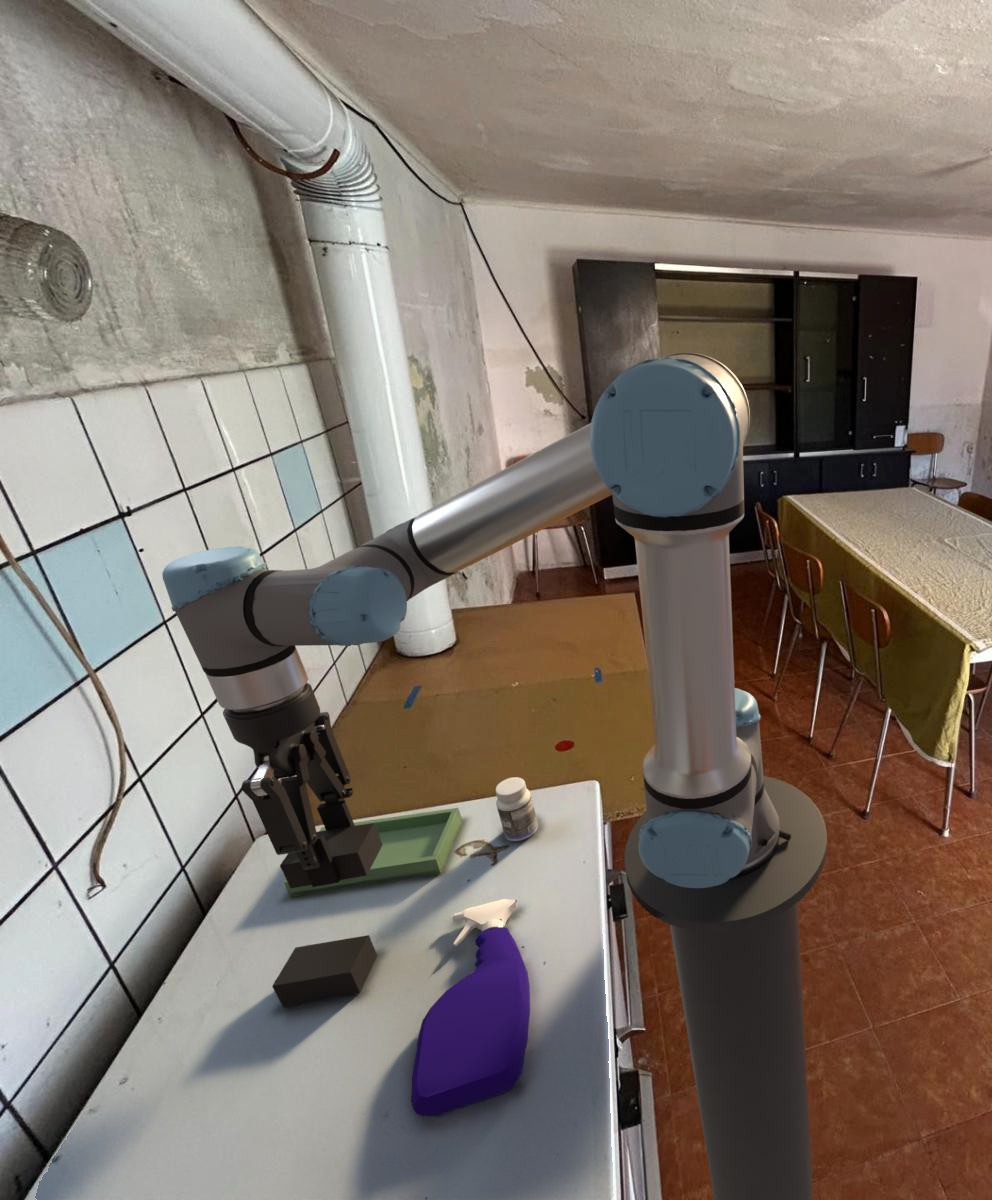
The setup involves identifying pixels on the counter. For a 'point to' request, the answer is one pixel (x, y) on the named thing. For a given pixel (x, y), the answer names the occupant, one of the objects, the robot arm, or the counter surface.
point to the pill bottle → (516, 809)
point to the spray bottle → (475, 1022)
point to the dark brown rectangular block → (325, 971)
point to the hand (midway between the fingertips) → (338, 863)
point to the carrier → (403, 849)
